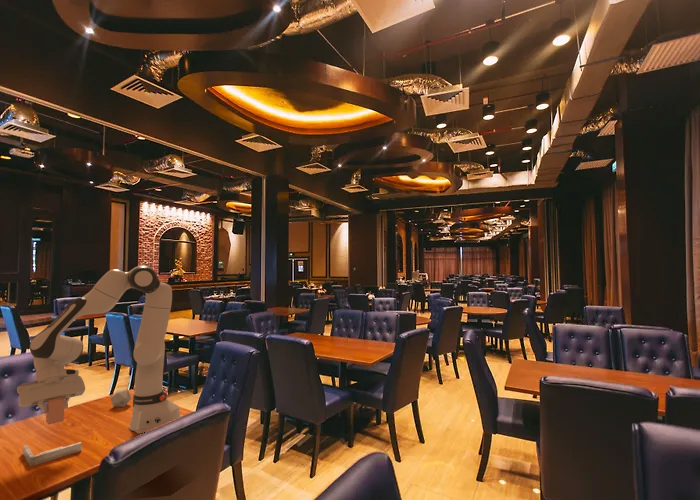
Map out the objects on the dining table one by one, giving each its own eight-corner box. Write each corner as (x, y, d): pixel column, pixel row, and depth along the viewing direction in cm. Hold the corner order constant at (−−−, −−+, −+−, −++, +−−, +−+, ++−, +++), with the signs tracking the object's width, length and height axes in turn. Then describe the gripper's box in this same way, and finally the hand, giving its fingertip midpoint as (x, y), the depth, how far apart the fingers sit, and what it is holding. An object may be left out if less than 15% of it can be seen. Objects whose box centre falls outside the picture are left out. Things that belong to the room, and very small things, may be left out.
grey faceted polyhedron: (115, 411, 183) (129, 394, 186) (103, 402, 185) (117, 384, 188) (124, 412, 191) (138, 394, 194) (112, 402, 192) (126, 385, 196)
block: (60, 417, 144) (61, 396, 145) (63, 420, 141) (64, 399, 142) (45, 421, 141) (46, 399, 141) (48, 424, 138) (49, 402, 138)
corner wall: (22, 453, 140) (23, 445, 140) (71, 440, 151) (71, 432, 151) (30, 466, 131) (30, 457, 131) (81, 451, 142) (81, 442, 142)
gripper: (17, 379, 139) (21, 413, 132) (82, 369, 154) (89, 398, 147) (14, 389, 141) (18, 422, 134) (79, 377, 157) (85, 407, 150)
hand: (55, 409), depth 141 cm, fingers closed on block, 4 cm apart
